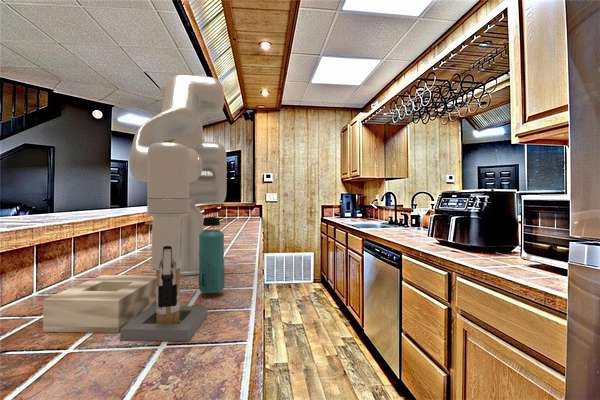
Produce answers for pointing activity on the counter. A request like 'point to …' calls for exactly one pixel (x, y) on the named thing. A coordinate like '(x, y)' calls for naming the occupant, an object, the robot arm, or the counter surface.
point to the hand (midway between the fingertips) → (168, 300)
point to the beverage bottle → (211, 258)
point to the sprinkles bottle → (173, 312)
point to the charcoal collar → (164, 325)
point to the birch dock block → (99, 304)
